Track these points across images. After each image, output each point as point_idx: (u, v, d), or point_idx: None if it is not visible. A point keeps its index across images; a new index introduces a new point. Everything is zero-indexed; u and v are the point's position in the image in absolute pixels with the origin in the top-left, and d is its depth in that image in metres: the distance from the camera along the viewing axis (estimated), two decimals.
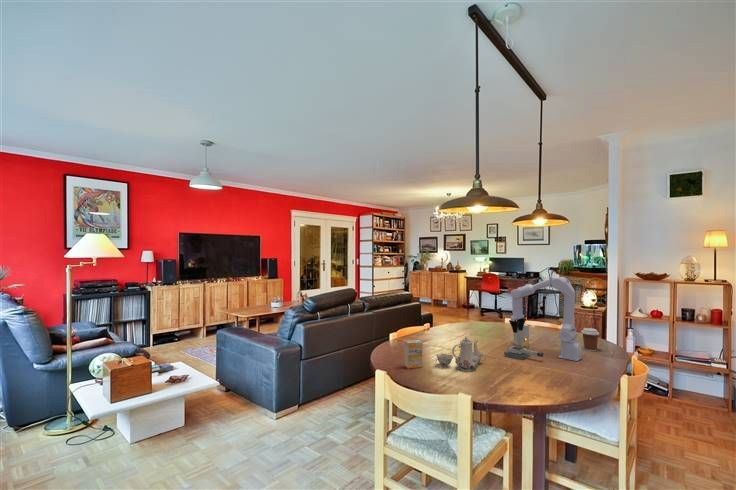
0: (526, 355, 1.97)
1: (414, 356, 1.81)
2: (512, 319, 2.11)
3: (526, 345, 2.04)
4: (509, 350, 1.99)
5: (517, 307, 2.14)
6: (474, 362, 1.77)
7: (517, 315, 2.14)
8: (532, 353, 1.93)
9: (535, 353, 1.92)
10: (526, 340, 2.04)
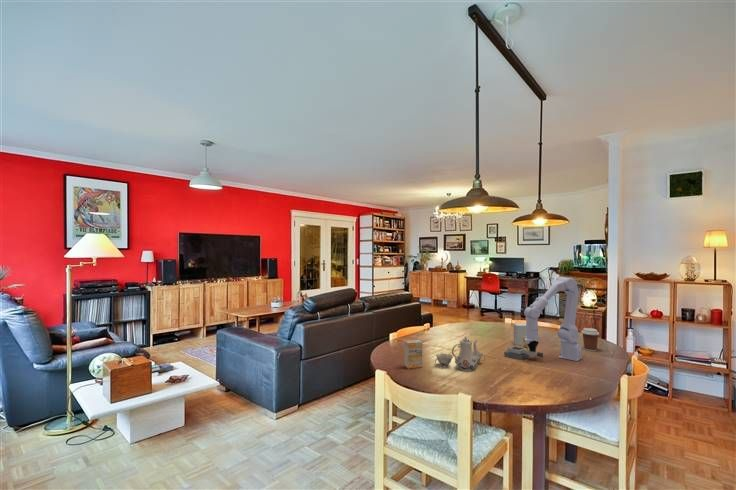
0: (526, 355, 1.97)
1: (414, 356, 1.81)
2: (526, 341, 1.90)
3: (526, 345, 2.04)
4: (509, 350, 1.99)
5: (536, 328, 1.93)
6: (474, 362, 1.78)
7: (532, 337, 1.92)
8: (532, 354, 1.93)
9: (535, 353, 1.92)
10: None
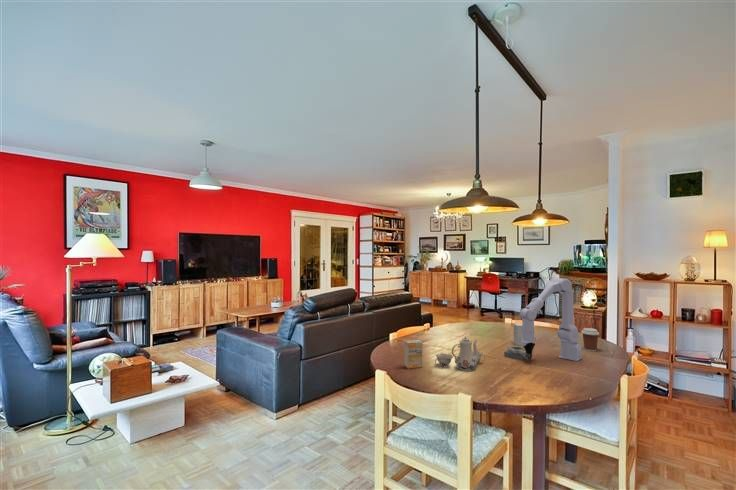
0: None
1: (414, 356, 1.81)
2: (523, 343, 1.86)
3: None
4: (508, 348, 2.02)
5: (533, 329, 1.89)
6: (474, 362, 1.78)
7: (528, 339, 1.89)
8: (523, 355, 1.91)
9: (524, 354, 1.89)
10: None
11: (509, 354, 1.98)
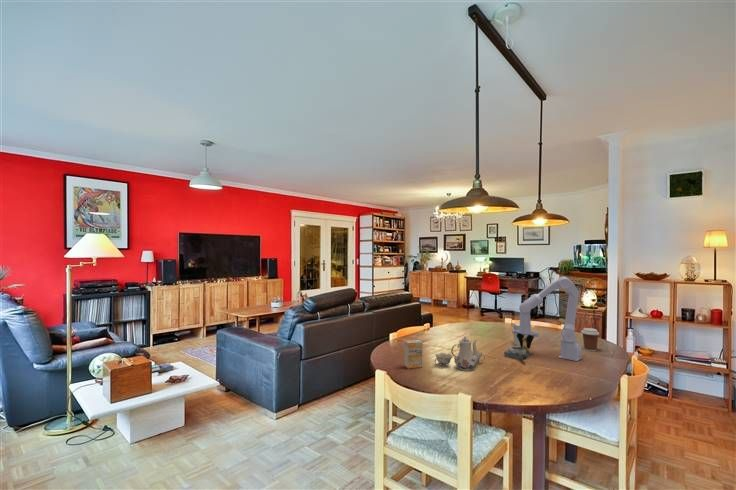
0: (526, 355, 1.97)
1: (414, 356, 1.81)
2: None
3: (526, 345, 2.04)
4: (508, 348, 2.03)
5: (527, 322, 2.03)
6: (473, 362, 1.78)
7: None
8: (520, 354, 1.91)
9: (520, 354, 1.90)
10: (526, 340, 2.04)
11: (509, 354, 1.98)
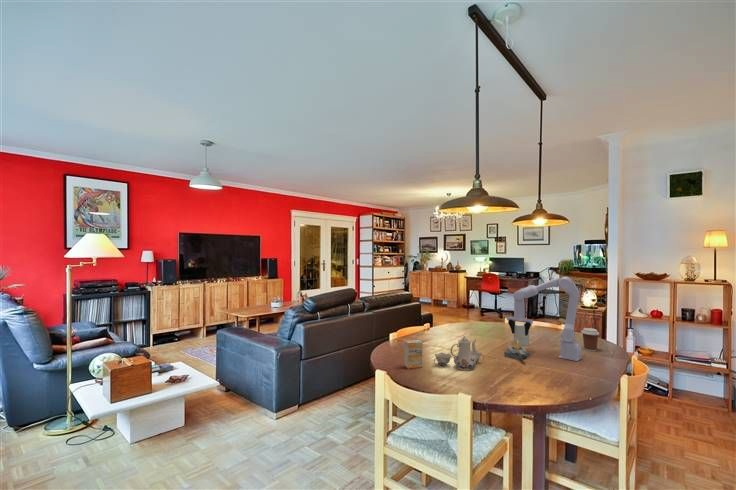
0: (526, 355, 1.97)
1: (414, 356, 1.81)
2: None
3: (518, 348, 1.98)
4: (508, 348, 2.03)
5: (520, 309, 2.07)
6: (473, 361, 1.79)
7: (514, 316, 2.11)
8: (520, 354, 1.91)
9: (520, 354, 1.90)
10: (518, 343, 1.98)
11: (509, 354, 1.98)
